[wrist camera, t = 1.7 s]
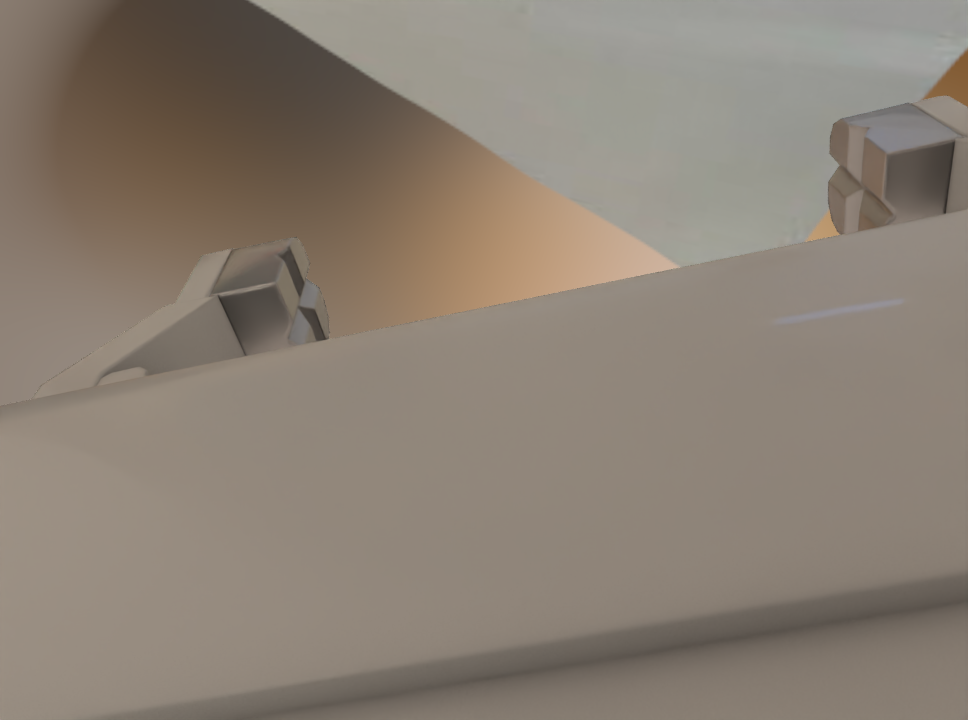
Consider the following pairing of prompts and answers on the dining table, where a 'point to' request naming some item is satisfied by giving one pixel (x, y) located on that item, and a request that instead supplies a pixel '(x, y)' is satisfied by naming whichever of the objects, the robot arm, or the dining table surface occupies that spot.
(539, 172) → the dining table surface
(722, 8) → the dining table surface
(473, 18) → the dining table surface
